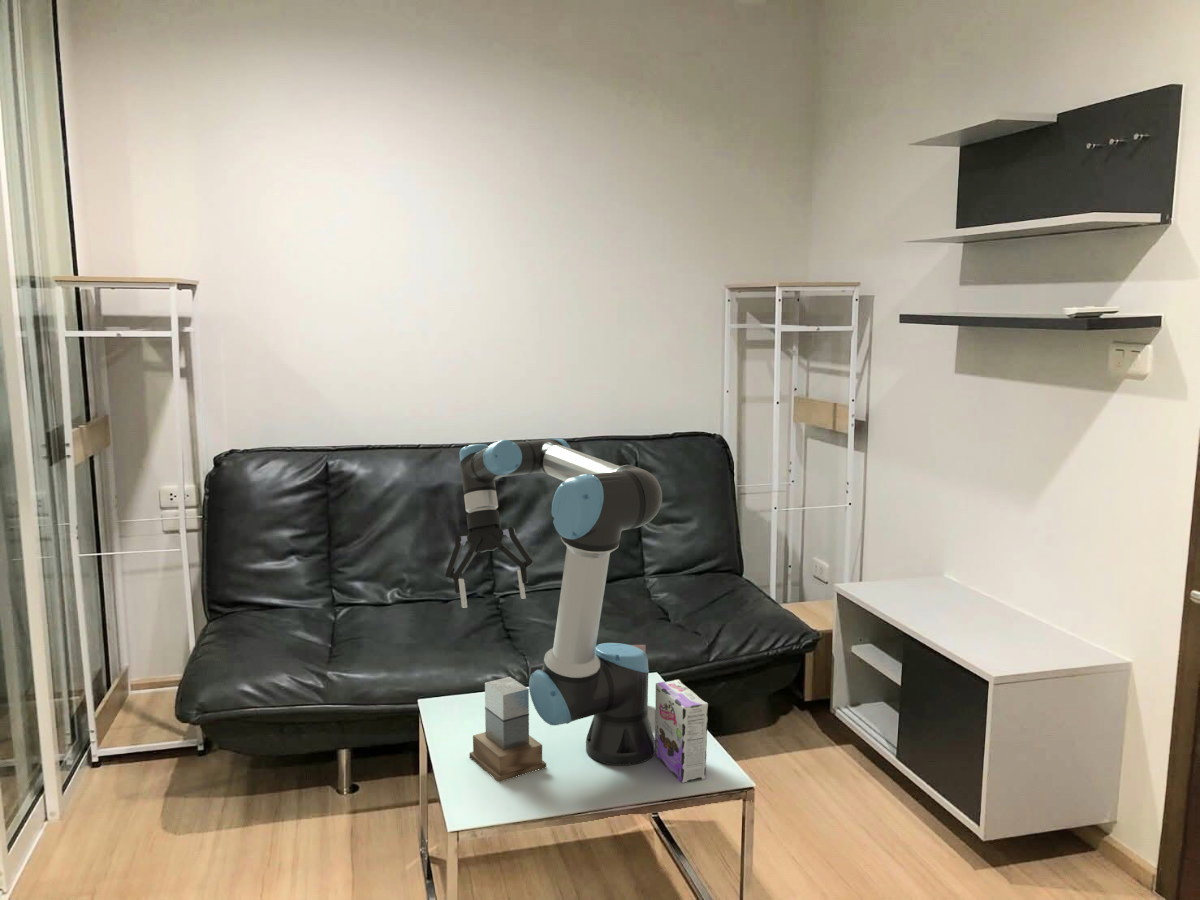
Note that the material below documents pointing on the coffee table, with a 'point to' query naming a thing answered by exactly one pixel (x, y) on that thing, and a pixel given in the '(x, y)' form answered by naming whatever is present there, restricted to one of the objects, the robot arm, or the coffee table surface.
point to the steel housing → (507, 713)
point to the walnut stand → (506, 757)
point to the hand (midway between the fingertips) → (494, 603)
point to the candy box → (681, 730)
